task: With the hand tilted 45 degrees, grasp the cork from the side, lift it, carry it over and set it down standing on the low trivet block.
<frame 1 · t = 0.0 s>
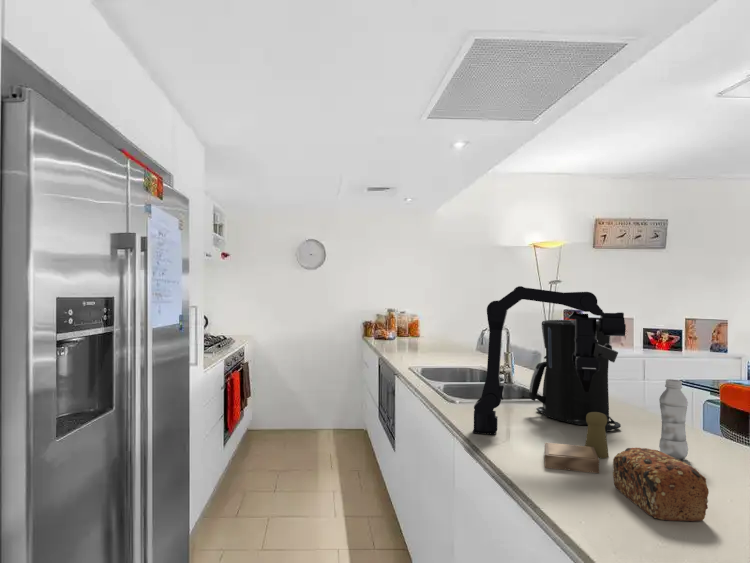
hand: (585, 389, 156), 15 cm above the worktop, tool pointing down, fingers open, 9 cm apart
coffee maker: (570, 420, 184), on the worktop
bread: (655, 504, 109), on the worktop
plastic bottle: (673, 458, 141), on the worktop
cork: (596, 455, 142), on the worktop
trivet: (570, 463, 135), on the worktop
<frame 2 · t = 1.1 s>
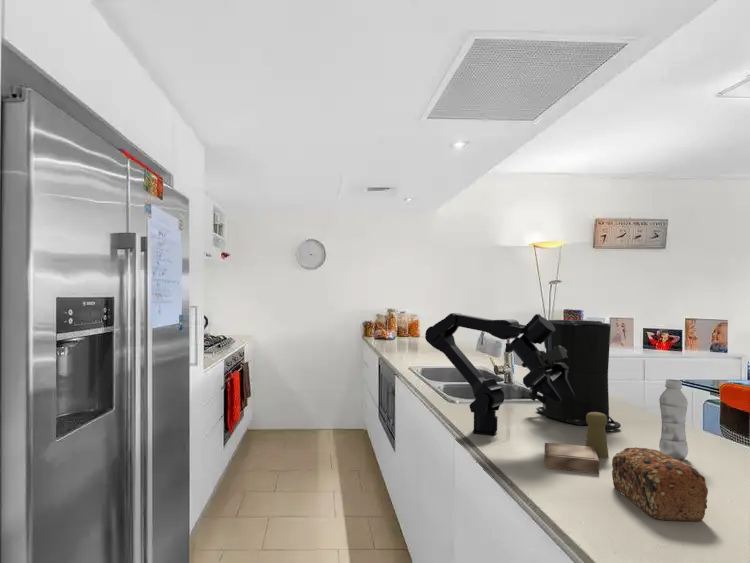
hand: (567, 399, 148), 13 cm above the worktop, tool tilted 45°, fingers open, 9 cm apart
nothing on the worktop moved.
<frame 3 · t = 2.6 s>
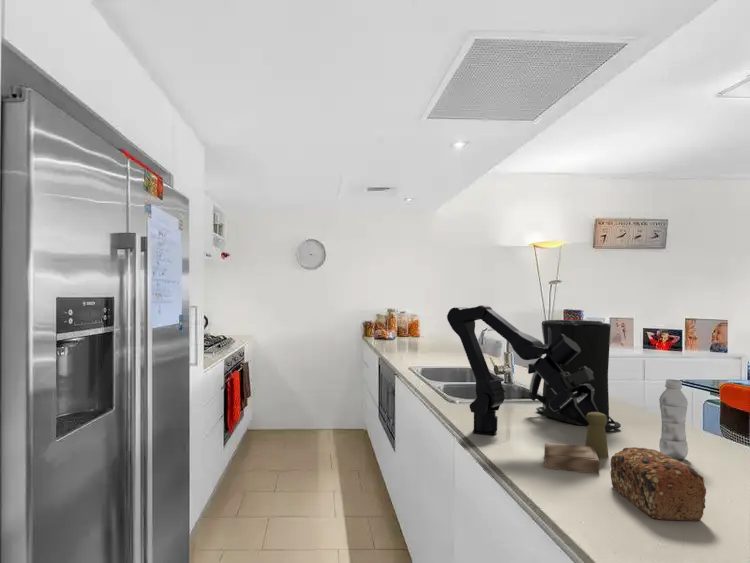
hand: (594, 422, 143), 8 cm above the worktop, tool tilted 45°, fingers open, 9 cm apart
nothing on the worktop moved.
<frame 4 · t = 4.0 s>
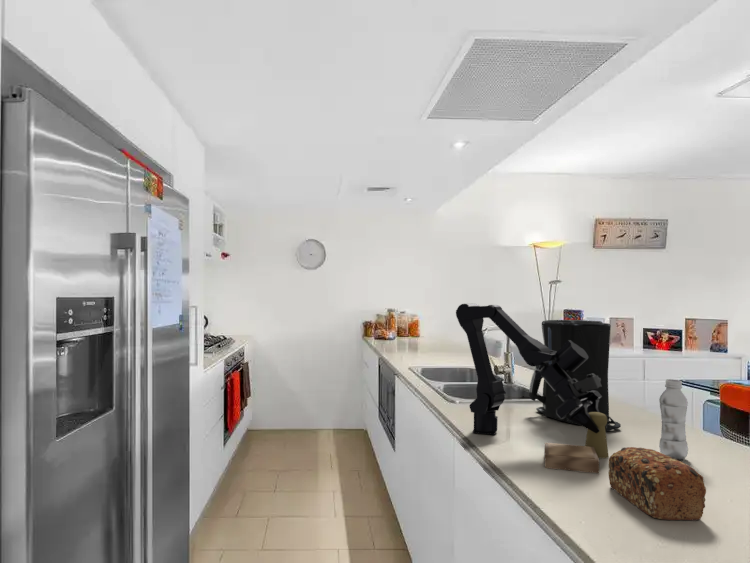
hand: (601, 430, 141), 7 cm above the worktop, tool tilted 45°, fingers closed on cork, 5 cm apart
cork: (596, 455, 142), on the worktop, touching gripper
everything else where it was.
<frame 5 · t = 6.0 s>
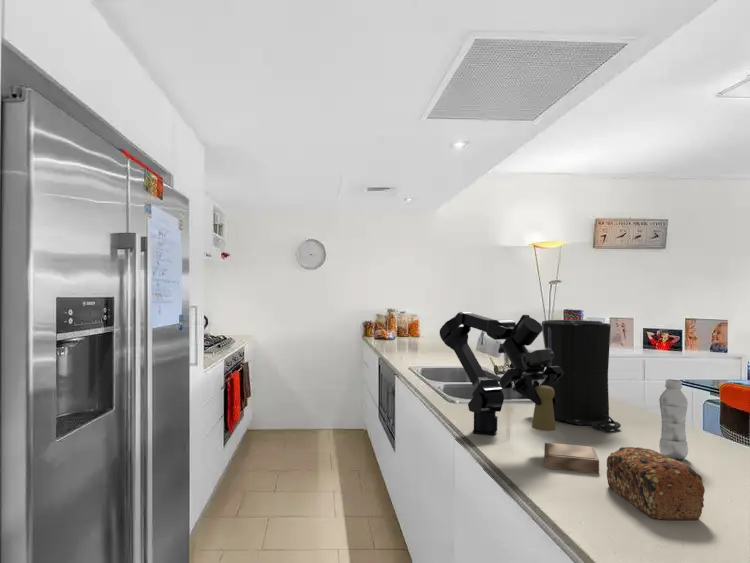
hand: (547, 403, 142), 13 cm above the worktop, tool tilted 45°, fingers closed on cork, 5 cm apart
cork: (543, 428, 143), point 6 cm above the worktop, touching gripper
everything else where it was.
when the fingers open (11 cm above the worktop, at t = 8.0 s): cork drops 1 cm, resting on trivet.
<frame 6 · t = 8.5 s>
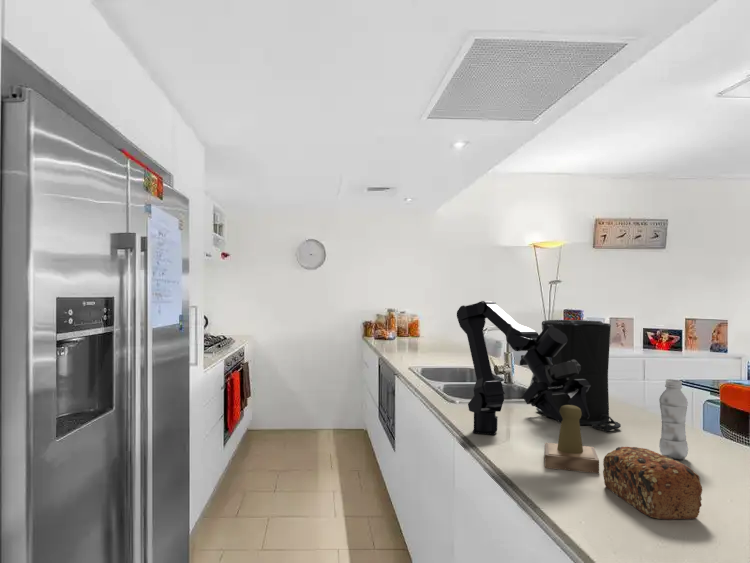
hand: (575, 419, 134), 11 cm above the worktop, tool tilted 45°, fingers open, 9 cm apart
cork: (570, 450, 135), point 3 cm above the worktop, touching trivet
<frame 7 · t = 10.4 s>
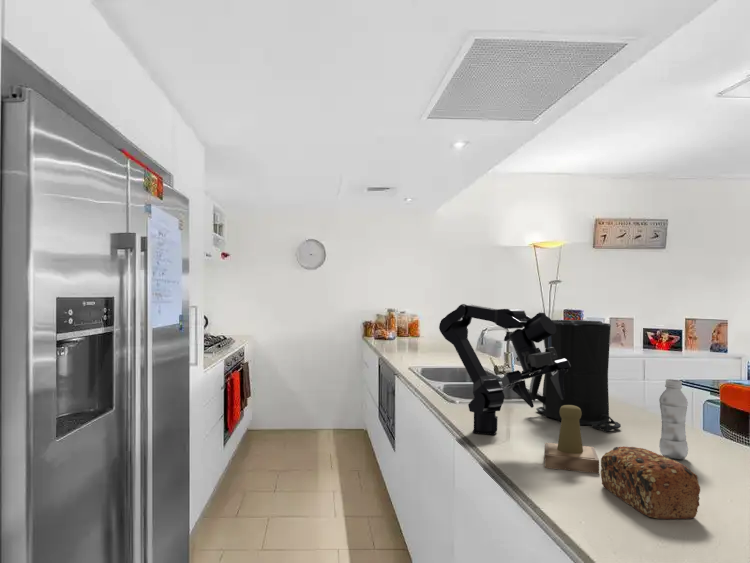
hand: (548, 403, 146), 13 cm above the worktop, tool tilted 30°, fingers open, 9 cm apart
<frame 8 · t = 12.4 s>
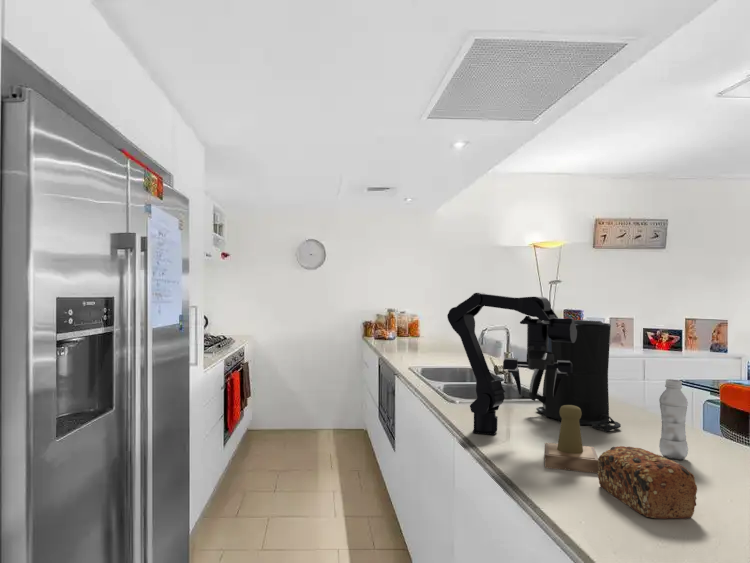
hand: (536, 395, 154), 13 cm above the worktop, tool pointing down, fingers open, 9 cm apart
at the end: cork inside the target area on the trivet (0.1 cm from its centre), point 3.0 cm above the trivet's base; cork tilted 0°; cork touching trivet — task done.
